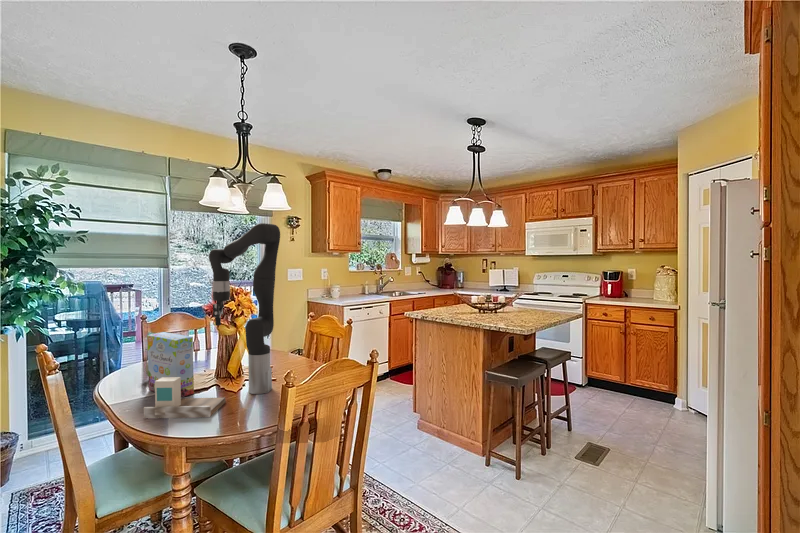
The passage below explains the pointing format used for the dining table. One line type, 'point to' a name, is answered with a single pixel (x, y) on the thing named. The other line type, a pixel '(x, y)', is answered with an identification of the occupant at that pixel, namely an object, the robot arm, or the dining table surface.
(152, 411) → the shelf plank
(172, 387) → the product box
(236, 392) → the dining table surface
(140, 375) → the dining table surface
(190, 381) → the snack box
